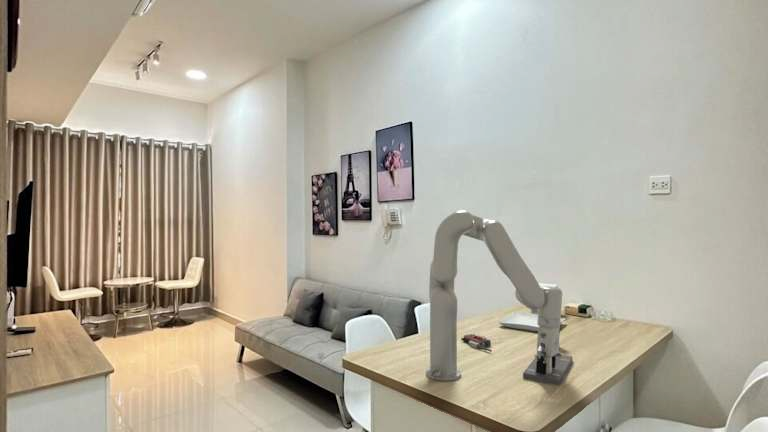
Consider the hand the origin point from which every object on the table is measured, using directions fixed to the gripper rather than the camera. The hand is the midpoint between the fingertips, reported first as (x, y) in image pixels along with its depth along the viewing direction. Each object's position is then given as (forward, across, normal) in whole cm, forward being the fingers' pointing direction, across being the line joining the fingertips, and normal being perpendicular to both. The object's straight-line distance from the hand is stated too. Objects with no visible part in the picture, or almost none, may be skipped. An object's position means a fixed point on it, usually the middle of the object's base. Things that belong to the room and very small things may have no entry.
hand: (545, 370), depth 144 cm
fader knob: (0, -2, 0) cm, 2 cm away
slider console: (+2, +9, +1) cm, 9 cm away
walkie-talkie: (+4, +18, +34) cm, 39 cm away
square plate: (+2, +68, +29) cm, 74 cm away
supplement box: (+1, +97, +33) cm, 103 cm away
